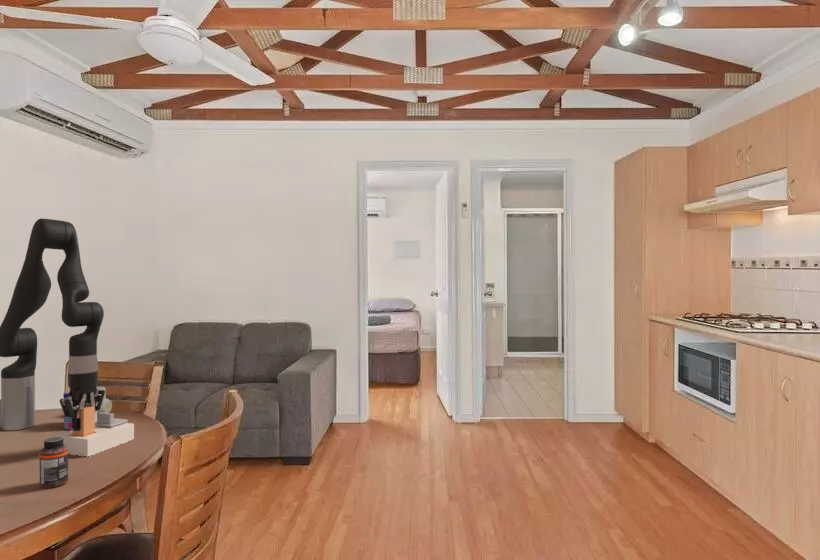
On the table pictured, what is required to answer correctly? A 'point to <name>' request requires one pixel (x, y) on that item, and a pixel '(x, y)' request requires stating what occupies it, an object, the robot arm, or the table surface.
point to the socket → (98, 439)
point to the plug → (86, 422)
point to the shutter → (108, 420)
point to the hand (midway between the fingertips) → (83, 428)
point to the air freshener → (104, 403)
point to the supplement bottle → (53, 463)
